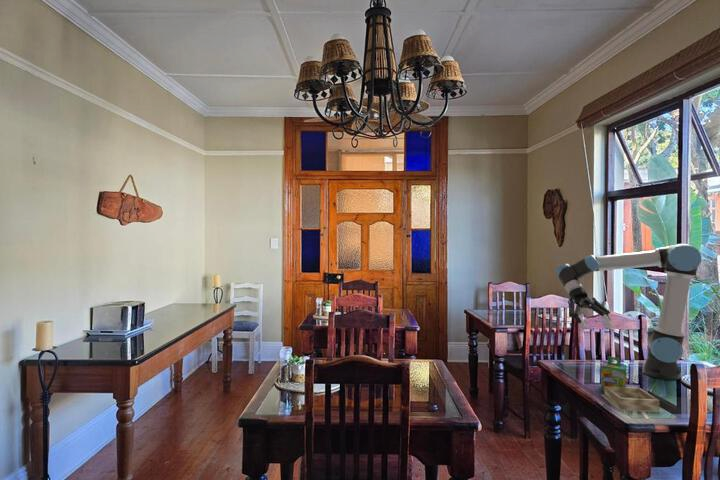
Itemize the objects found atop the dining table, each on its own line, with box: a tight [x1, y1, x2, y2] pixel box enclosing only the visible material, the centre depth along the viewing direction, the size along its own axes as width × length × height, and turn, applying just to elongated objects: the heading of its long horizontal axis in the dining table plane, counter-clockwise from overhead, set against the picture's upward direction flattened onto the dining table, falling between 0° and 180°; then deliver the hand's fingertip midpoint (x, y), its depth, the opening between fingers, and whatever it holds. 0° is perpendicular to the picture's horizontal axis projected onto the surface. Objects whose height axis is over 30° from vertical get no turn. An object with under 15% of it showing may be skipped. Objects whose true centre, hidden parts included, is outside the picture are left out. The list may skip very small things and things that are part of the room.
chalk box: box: [600, 356, 628, 393], centre depth 184 cm, size 9×9×15 cm
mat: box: [600, 394, 664, 413], centre depth 170 cm, size 16×16×1 cm
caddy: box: [603, 386, 660, 411], centre depth 170 cm, size 14×14×4 cm
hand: (598, 328), depth 193 cm, fingers open, 13 cm apart
